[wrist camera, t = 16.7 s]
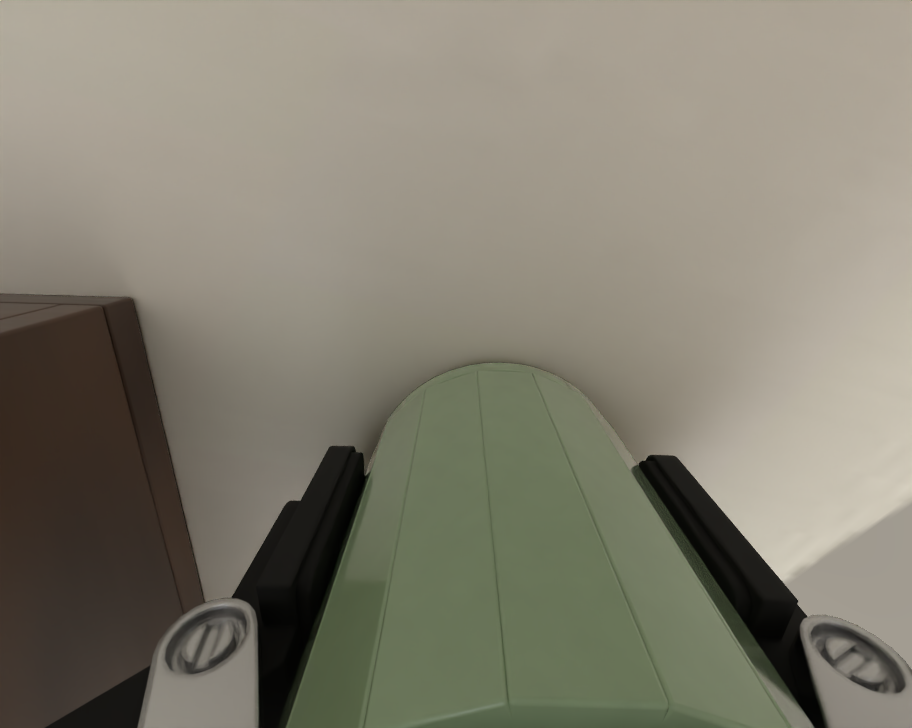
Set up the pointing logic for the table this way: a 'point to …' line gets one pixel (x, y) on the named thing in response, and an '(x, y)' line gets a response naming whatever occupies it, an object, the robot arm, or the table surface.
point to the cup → (522, 581)
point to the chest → (82, 507)
